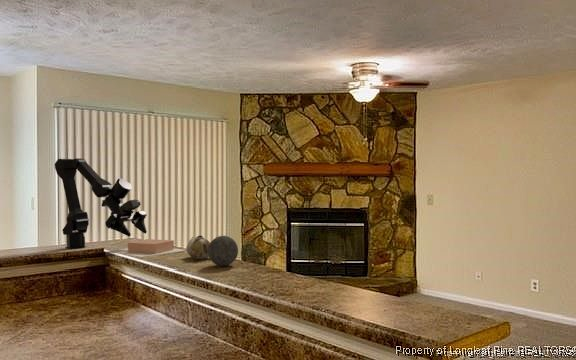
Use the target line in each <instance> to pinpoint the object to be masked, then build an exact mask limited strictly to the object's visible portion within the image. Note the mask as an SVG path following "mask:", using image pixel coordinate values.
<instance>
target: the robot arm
mask: <svg viewBox="0 0 576 360" xmlns="http://www.w3.org/2000/svg"><path fill="white" fill-rule="evenodd" d="M54 169H55V172H56V175H58V177H59V178H60V179H61V181H62V184H63V190H64V193H65V194H64V195H65V199H66V203H67V207H68V214H67V216H66V224H65V226H64V227H63V228H62V231H61V232H62V233H63V235H64V236H65V235H66V246H65V249H69V250H75V249H81V248H86V239H85V234H86V233H87V231H88V229H89V227H88V226H89V221H90V219H89V216H88V212H87V211H83V209H82V207H81V203H80V202H81V201H80V198H79V193H78V188H77V184H76V178H75V177H76V174H77V171H78V172H79V173H80V174H81V175H82V176H83V178H84V179H85V180H86V181H87V182H88V184H90V186H91V192H93V194H94V196H96V198H104V199H103V200H101V201H102V202H101V207H107V208H108V209H109V210H110V215H109V217H108V218H107V219H106V221H105V222H104V223H105V225H104V226H105V227H106V228H107V229H111V230H113V231H115V232H118V233H121V234H122V235H124V236H127V237H130V236H131V233H130V229H128V228H127V225H125V223H128V222H131V223H132V224H133V227H135V228H136V229H137V230H139V231H140V232H141V233H143V234H147V232H148V231H147V228H146V224H145V219H146V217H147V215H148V214H147V213H146V212H145V210H140V211H138V210H137V211H134V210H136V209H139V208H140V206H141V201H140V200H139V199H138V198H134V199H130V200H127V201H126V202H123V201H122V199H123V200H125V198H126V197H127V196H128V194H129V192H130V191H131V190H132V188H133V185H132V184H131V183H130V182H128V181H126V180H125V179H123V177H122V178H117V180H116V182H115V183H114V185H113V184H112V183H111V182H109V181H108V180H106V179H103V178H102V177H101V176H99V174H98V173H97V172H96V171H95V169H93V168H92V167H91V166H90V165H89V164H88V163H87V161H86V159H85V158H73V159H72V158H58V159H57V160H56V161H55V163H54ZM134 212H135V213H134ZM132 214H133V215H132Z"/></svg>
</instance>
